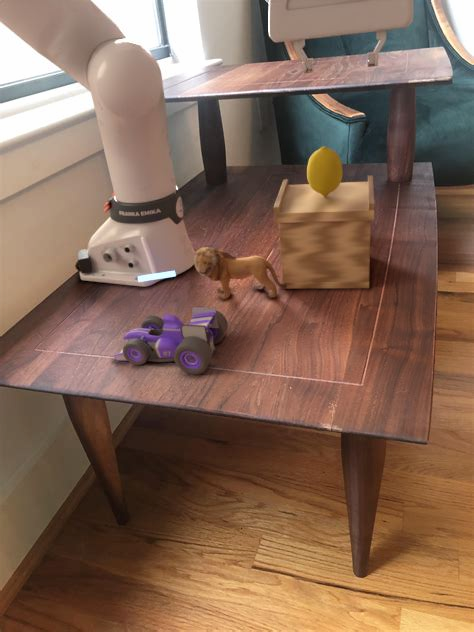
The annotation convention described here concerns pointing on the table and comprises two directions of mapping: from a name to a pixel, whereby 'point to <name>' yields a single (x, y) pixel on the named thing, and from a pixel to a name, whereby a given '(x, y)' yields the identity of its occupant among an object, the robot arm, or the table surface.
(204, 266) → the lion figurine
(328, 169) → the lemon
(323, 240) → the wooden crate box
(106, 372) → the table surface
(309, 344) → the table surface
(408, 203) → the table surface
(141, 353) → the toy race car
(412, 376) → the table surface
